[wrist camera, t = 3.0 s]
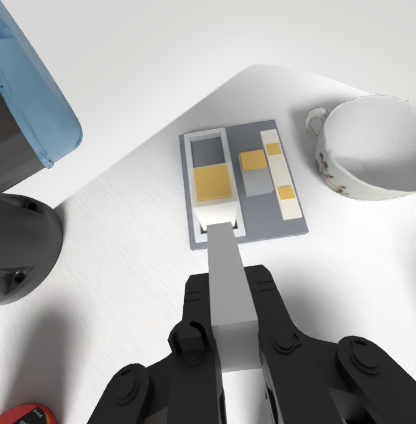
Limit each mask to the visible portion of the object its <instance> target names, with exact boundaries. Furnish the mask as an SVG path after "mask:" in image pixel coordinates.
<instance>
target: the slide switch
mask: <svg viewBox="0 0 416 424" xmlns="http://www.w3.org/2000/svg"><path fill="white" fill-rule="evenodd" d="M189 176H190V185H191V194H192V202H193V209H194V211H195V213H196V215H197V218H198V220H199V222H200V224H201V226H202V228H203V231H204V232H205V231H207V225H211V224H218V223H224V222H231V224H232V227H235V220H236V213H237V206H238V197H237V192H236V187H235V182H234V177H233V172H232V167H231V162H228V163H222V164H215V165H209V166H203V167H197V168H191V169H189Z"/></svg>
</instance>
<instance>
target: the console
mask: <svg viewBox="0 0 416 424" xmlns="http://www.w3.org/2000/svg"><path fill="white" fill-rule="evenodd" d="M179 139H180V149H181V159H182V169H183V179H184V189H185V199H186V209H187V219H188V229H189V239H190V249H191V250H192V251H193V250H200V249H207V248H208V244H207V231H205V232H204V231H203V228H202V226H201V224H200V222H199V220H198V218H197V215H196V213H195V211H194V209H193V202H192V194H191V185H190V176H189V169H191V168H197V167H203V166H209V165H215V164H222V163H228V162H231V167H232V172H233V177H234V182H235V187H236V192H237V197H238V206H237V213H236V220H235V227H232V228H233V231H234V235H235V238H236V242H237V244H241V243H248V242H255V241H262V240H269V239H276V238H283V237H290V236H297V235H303V234H306V233H308V232H309V231H308V228H307V225H306V221H305V218H304V215H303V212H302V208H301V205H300V202H299V199H298V195H297V192H296V189H295V186H294V182H293V179H292V176H291V172H290V169H289V166H288V163H287V159H286V156H285V153H284V150H283V146H282V143H281V140H280V137H279V133H278V130H277V127H276V123H275V120H270V121H264V122H258V123H252V124H246V125H240V126H234V127H228V128H225V127H222V128H216V129H210V130H204V131H199V132H193V133H187V134H184V135H180V136H179Z"/></svg>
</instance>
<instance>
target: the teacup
mask: <svg viewBox="0 0 416 424" xmlns="http://www.w3.org/2000/svg"><path fill="white" fill-rule="evenodd" d="M313 117H319V118H321V120H322V122H323V125H322V128H321V130H320V133H319V136H318V135H317V134H316V133H315V132H314V131H313V130H312V128H311V126H310V120H311V118H313ZM305 129H306V131H307V134H308V135H309V136H310V137H311V138H312V139H313V140H314V141H316V142H317V143H316V149H315V162H316V167H317V171H318V173H319V175H320V177H321V179H322V180H323V181H324V183H325V184H326V185H327V186H328V187H329V188H330V189H332V190H333V191H334V192H336V193H338V194H340V195H342V196H345V197H348V198H351V199H356V200H363V201H380V200H389V199H394V198H399V197H403V196H406V195H409V194H413V193H416V104H413V103H411V102H409V101H406V100H402V99H399V98H396V97H392V96H384V95H369V96H360V97H357V98H355V99H354V100H352V101H346V102H343V103H341V104H339V105H338V106H337V107H336V108H334V109H333V110H332V111H331V112H330V114H329V113H328V112H327V110H326V109H324V108H322V107H318V108H313V109H312V110H310V111H309V112H308V114H307V116H306V118H305Z"/></svg>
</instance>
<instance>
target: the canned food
mask: <svg viewBox="0 0 416 424" xmlns="http://www.w3.org/2000/svg"><path fill="white" fill-rule="evenodd" d="M0 424H57V422H56V419H55V417H54V415H53V414H52V412H51V411H50V410H49V409H48V408H47V407H45V406H43V405H41V404H38V403H29V404H24V405H20V406H17V407H14V408H12V409H10V410H9V411H7V412H5V413H3V414H2V415H0Z"/></svg>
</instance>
